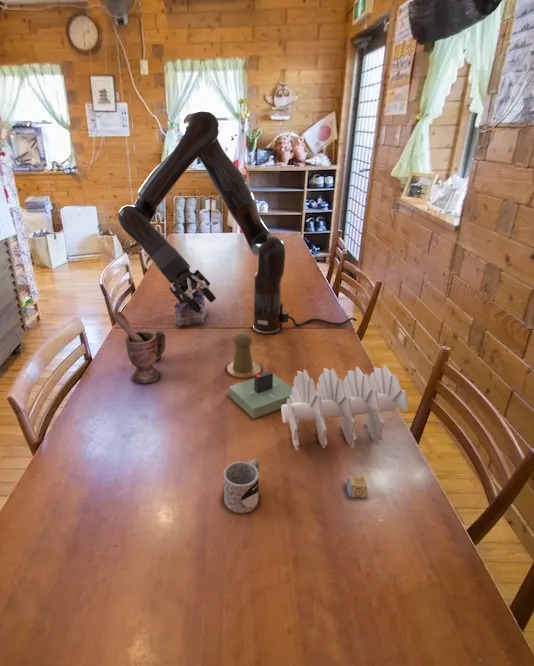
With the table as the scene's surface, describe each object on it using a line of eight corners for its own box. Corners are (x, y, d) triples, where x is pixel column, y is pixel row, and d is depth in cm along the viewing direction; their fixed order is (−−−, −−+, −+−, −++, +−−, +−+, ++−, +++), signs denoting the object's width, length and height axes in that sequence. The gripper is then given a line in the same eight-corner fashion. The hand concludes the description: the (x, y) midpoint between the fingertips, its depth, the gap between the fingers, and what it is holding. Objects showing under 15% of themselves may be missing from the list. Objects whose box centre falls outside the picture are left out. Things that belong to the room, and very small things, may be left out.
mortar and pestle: (117, 386, 127) (108, 321, 119) (122, 370, 135) (113, 308, 127) (159, 384, 128) (152, 319, 119) (161, 369, 136) (155, 307, 127)
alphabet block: (346, 486, 92) (347, 474, 90) (362, 486, 91) (363, 475, 90) (349, 498, 89) (351, 486, 87) (365, 498, 89) (367, 486, 87)
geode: (180, 307, 180) (183, 283, 176) (209, 311, 179) (212, 287, 175) (169, 326, 161) (171, 300, 157) (201, 331, 161) (204, 305, 157)
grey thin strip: (247, 518, 85) (247, 491, 82) (217, 503, 88) (216, 477, 85) (271, 484, 92) (272, 458, 90) (243, 472, 96) (243, 447, 93)
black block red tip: (269, 385, 121) (269, 369, 119) (272, 388, 120) (273, 372, 118) (254, 390, 119) (254, 374, 117) (257, 393, 117) (257, 377, 115)
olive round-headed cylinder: (255, 364, 136) (255, 331, 131) (249, 374, 131) (249, 340, 126) (236, 361, 138) (236, 328, 133) (230, 371, 133) (229, 337, 128)
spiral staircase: (280, 443, 110) (380, 431, 111) (294, 464, 92) (413, 450, 94) (272, 368, 110) (372, 357, 111) (285, 375, 92) (404, 362, 94)
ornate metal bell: (169, 354, 144) (167, 331, 141) (164, 365, 138) (162, 341, 134) (146, 353, 145) (144, 330, 142) (140, 364, 138) (137, 341, 135)
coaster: (249, 358, 141) (249, 356, 141) (267, 372, 133) (267, 370, 133) (220, 366, 136) (220, 365, 136) (238, 381, 129) (238, 379, 128)
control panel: (271, 381, 128) (271, 372, 127) (298, 402, 119) (298, 391, 118) (229, 396, 122) (228, 386, 121) (253, 418, 113) (253, 408, 111)
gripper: (164, 261, 123) (202, 307, 123) (190, 248, 135) (225, 290, 135) (149, 277, 127) (187, 321, 128) (176, 264, 139) (210, 304, 139)
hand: (206, 305), depth 131 cm, fingers open, 8 cm apart
